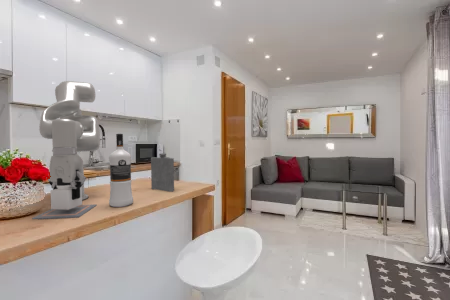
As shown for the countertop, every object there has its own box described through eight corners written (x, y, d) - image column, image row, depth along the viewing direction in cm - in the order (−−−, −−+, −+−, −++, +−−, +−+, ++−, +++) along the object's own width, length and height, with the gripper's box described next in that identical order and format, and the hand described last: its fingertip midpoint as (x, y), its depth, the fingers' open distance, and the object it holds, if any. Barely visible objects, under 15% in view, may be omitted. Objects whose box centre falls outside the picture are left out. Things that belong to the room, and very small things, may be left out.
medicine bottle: (82, 204, 90) (81, 174, 90) (68, 210, 83) (67, 177, 83) (65, 204, 91) (64, 174, 91) (50, 209, 84) (49, 177, 84)
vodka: (132, 200, 103) (130, 134, 102) (134, 205, 95) (132, 133, 94) (109, 203, 99) (107, 133, 98) (109, 208, 91) (106, 133, 90)
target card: (32, 219, 79) (31, 218, 79) (57, 207, 94) (57, 205, 94) (78, 217, 81) (78, 215, 81) (96, 205, 96) (96, 204, 96)
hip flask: (150, 188, 129) (149, 153, 128) (155, 187, 132) (155, 152, 131) (171, 192, 120) (170, 153, 119) (176, 190, 124) (176, 153, 123)
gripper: (36, 152, 84) (38, 200, 85) (77, 152, 81) (78, 201, 82) (54, 151, 92) (56, 195, 92) (92, 151, 89) (94, 196, 89)
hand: (66, 198), depth 87 cm, fingers closed on medicine bottle, 7 cm apart
